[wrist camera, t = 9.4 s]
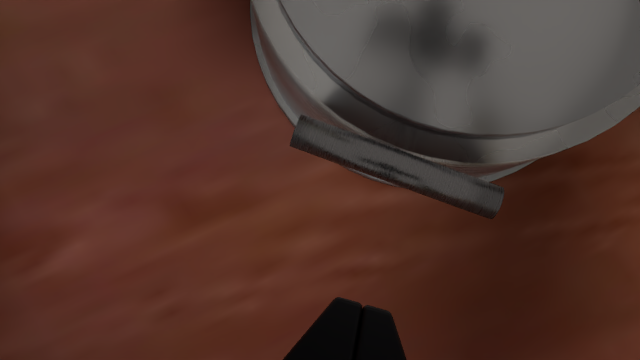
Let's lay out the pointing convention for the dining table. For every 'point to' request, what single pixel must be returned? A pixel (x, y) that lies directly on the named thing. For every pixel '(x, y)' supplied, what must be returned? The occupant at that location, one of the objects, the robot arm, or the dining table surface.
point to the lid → (462, 76)
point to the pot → (350, 114)
